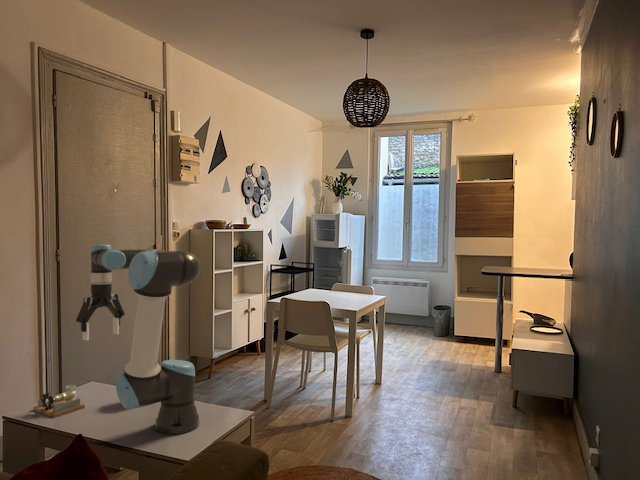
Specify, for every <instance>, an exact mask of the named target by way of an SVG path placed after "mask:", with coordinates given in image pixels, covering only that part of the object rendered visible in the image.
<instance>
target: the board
mask: <svg viewBox="0 0 640 480" xmlns="http://www.w3.org/2000/svg"><path fill="white" fill-rule="evenodd" d="M60 394H61V393H60ZM60 394H56V395H53V396H52V395H51V396H52V398H54V397H56V396H60ZM45 400H46V399H45ZM37 402H38V403H37V404H38V405H35V406H33V411H34V412H37V413H40V414H43V415H46V416H49V417H51V418H53V419H54V418H55V419H56V418H59V417H61V416H65V415H67V414H71V413H73V412H77V411H79V410H83V409H85V404H83V403H81V398H79V397H77V398H75V399H74V400H71V401H67V402H66V400H64V401H61V400H59V401H56V402H55V401H54V402H53V404H52V405H51V406H50V407H52V409H49V410H47V411H46V410H45V407H42V405H43V402H41V399H39V400H38V401H37ZM46 405H47V406H48V404H46Z"/></svg>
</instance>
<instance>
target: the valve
mask: <svg viewBox="0 0 640 480" xmlns="http://www.w3.org/2000/svg"><path fill="white" fill-rule="evenodd" d="M76 387H77V386H76V385H75V384H70V385H69V384H68V385H66V386H65V392H61V393H60V396H56V395H55V396H56V397H54V398H52V395H50V393H49V392H46V393H43V394H42V395H41V397H42V398H41V399H40V400H41V402H43V405H42V407H45V410H46V411H47V410H49V409H52V407H50V406H51V405H52V404H53V402H54V401H55V402H56V401H59V400H61V401H64V400H66V402H67V401H71V400H74V399H76V397H77V389H76ZM45 399H46V400H45ZM46 404H48V406H47V405H46Z"/></svg>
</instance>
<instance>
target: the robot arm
mask: <svg viewBox="0 0 640 480" xmlns="http://www.w3.org/2000/svg"><path fill="white" fill-rule="evenodd" d="M201 268H202V267H201V262H200V260H199V258H198V257H197V256H196V255H195V254H193V253H192V252H189V251H187V250H166V251H164V250H160V251H158V250H157V249H152V248H146V249H144V248H143V249H142V248H141V249H112V245H111V244H92V245H91V248H90V282H91V285H90V293H91V296H90V297H89V296H84V298H83V303H82V305H81V306H80V310H79V311H78V315H77V317H76V319H75V322H76V323H80V332H82V341H89V340H90V323H89V322H88V321H90V319H91V317H92V316H93V314H94V313H95V311H96V310H97V309H98V308H102V307H103V308H104V307H106V308H107V310H109V311H110V313H111V314H112V316H113V318H112V334H113V335H120V325H121V319H122V318H123V317H124V316H125V311H124V308H123V307H122V305H121V303H120V300H119V295H118V293H112V291H113V288H112V282H113V277H112V275H113V274H112V272H113V271H114V270H115V271H118V270H128V271H127V274H128V275H127V277H128V283H129V285H130V287H131V289H133V293H134V294H135V295H136V296H137V302H136V310H135V311H136V312H135V319H134V329H133V337H132V343H131V353H130V360H129V362H128V363H126V364H125V365H124V369H123V373H120V374H118V375H117V377H116V380H115V388H116V393H117V397H118V400H119V402H120V404H121V405H122V407H123V408H125V409H127V410H131V409H135V408H136V409H139V408H141V407H145V406H149V405H153V404H158V403H160V406H159V410H158V413H157V418H156V419H155V426H154V427H155V431H157V432H158V433H161V434H164V435H165V434H166V435H178V434H184V433H188V432H191V431H194V430H195V429H197V428H198V427H199V426H200V416H199V414H198V410H197V407H196V404H195V397H196V396H195V394H196V393H195V391H196V389H195V387H196V385H195V383H196V382H195V381H196V370H195V365H194V364H193V362H190V361H187V360H183V359H182V360H181V359H166V360H163V361H161V364H159V363H158V357H159V351H160V344H161V336H162V327H163V321H164V314H165V313H164V312H165V305H166V299H167V298H168V297H169V296H171V295H172V288H173V287H180V286H185V285H188V284H189V285H190V283H193V282H194V281H195V280H196V279H197V278H198V277H199V275H200V273H201ZM111 301H112V302H111Z"/></svg>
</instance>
